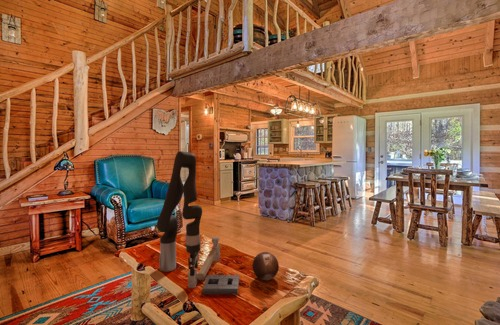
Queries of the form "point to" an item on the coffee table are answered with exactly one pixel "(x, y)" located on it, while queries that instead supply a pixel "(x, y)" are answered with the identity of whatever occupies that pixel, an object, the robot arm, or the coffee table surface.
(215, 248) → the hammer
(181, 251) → the coffee table surface
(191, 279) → the block
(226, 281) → the socket plate
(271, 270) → the wooden sphere
